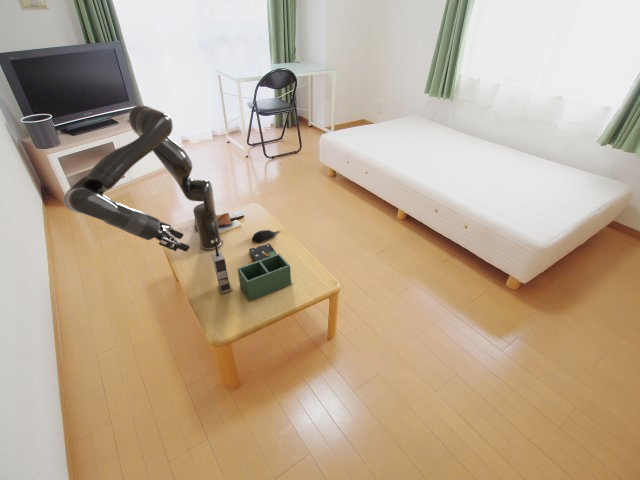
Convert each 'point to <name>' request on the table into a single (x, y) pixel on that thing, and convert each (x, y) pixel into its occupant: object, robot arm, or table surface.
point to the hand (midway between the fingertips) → (184, 242)
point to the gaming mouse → (263, 236)
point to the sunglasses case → (221, 220)
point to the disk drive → (262, 252)
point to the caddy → (264, 276)
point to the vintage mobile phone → (221, 270)
